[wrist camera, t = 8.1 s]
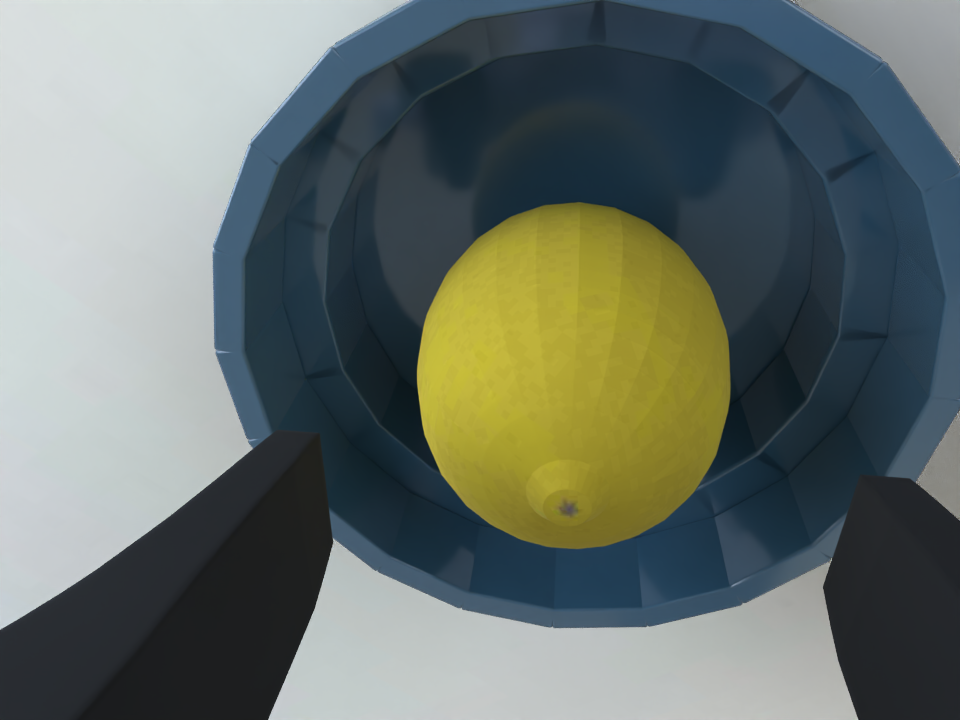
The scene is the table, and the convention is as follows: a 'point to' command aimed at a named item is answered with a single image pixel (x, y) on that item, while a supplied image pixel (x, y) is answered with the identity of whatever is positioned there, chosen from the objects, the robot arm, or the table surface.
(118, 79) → the table surface
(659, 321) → the lemon
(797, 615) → the table surface
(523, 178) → the bowl
